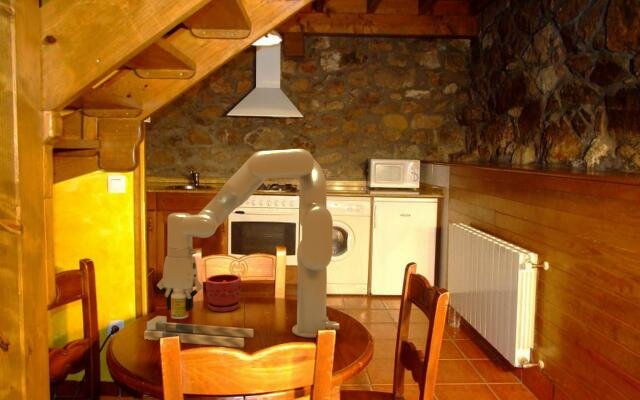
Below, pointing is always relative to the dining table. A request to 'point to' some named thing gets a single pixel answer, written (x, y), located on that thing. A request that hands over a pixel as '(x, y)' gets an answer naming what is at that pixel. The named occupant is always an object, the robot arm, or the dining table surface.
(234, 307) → the plant pot
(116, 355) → the dining table surface
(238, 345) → the guide channel
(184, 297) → the supplement bottle
